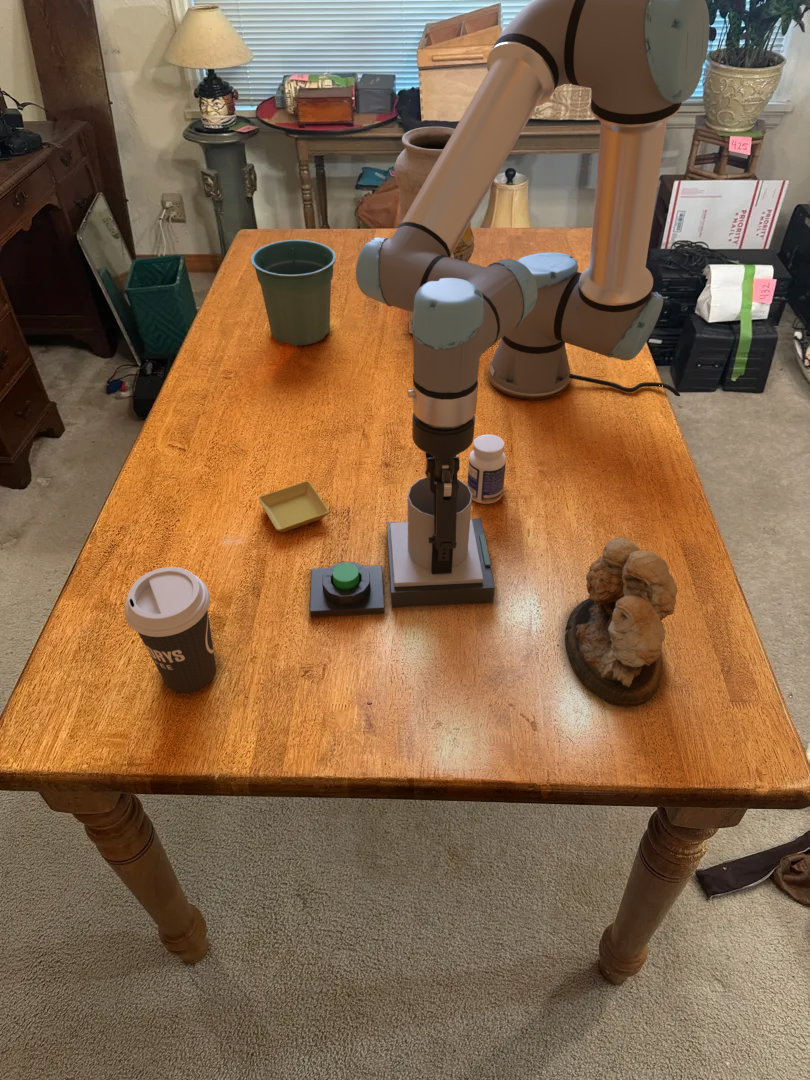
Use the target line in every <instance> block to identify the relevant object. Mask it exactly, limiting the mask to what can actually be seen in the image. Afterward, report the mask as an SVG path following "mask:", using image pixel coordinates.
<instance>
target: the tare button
mask: <svg viewBox="0 0 810 1080" xmlns="http://www.w3.org/2000/svg"><path fill="white" fill-rule="evenodd" d="M332 575H333V583H334V585H335V587H336V588H338V589H340V590H351V589H353V588H355V587H356V586H357V585H358V584H359V570H358V568H357V567H356V566H355V565H354V564H351V563H342V564H339V565H337V566H336V567H335V568H334V569H333V572H332Z"/></svg>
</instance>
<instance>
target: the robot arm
mask: <svg viewBox="0 0 810 1080" xmlns="http://www.w3.org/2000/svg"><path fill="white" fill-rule="evenodd" d="M709 41H710V13H709V8H708V4H707V2H706V0H530V1H529V2H528V3H526V5H525V6H524V7H523V8H522V9H521V10H520V11H519V12H518V13H517V14H516V15H515V16H514V17H513V18H512V19H511V21H509V23H508V24H507V26H505V27H504V29H503V30H502V32H500V35H499V36H498V38H497V39H496V40H495V43H494V45H493V46H492V47H491V49H490V52H489V53H488V55H487V59H486V71H487V72H486V74H485V76H484V78H483V80H482V82H481V83H480V85H479V87H477V90H476V92H475V94H474V95H473V97H472V99H471V101H470V102H469V104H468V106H467V108H466V109H465V111H464V113H463V115H462V116H461V118H460V119H459V121H458V123H457V125H456V127H455V128H454V129H455V130H454V132H453V134H452V135H451V137H450V139H449V141H448V142H447V144H446V146H445V148H444V149H443V151H442V153H441V155H440V156H439V158H438V160H437V161H436V163H435V165H434V167H433V168H432V170H431V172H430V174H429V175H428V177H427V179H426V181H425V182H424V184H423V186H422V188H421V189H420V191H419V193H418V195H417V196H416V198H415V200H414V201H413V203H412V205H411V207H410V208H409V210H408V212H407V214H406V215H405V217H404V219H403V221H402V222H401V221H400V224H399V225H398V227H397V229H396V230H395V232H394V234H393V235H392V237H391V238H390V237H385V236H384V237H380V236H376V237H372V238H371V239H370V241H368V242H366V243H365V244H364V245H363V247H362V248H361V249H360V252H359V254H358V256H357V260H356V264H355V265H356V267H355V280H356V283H357V286H358V288H359V290H360V292H361V293H362V294H363V295H364V296H366V297H368V298H370V299H372V300H374V301H377V302H379V303H381V304H384V305H386V307H394V308H396V309H400V310H404V311H407V312H408V311H410V312H413V319H412V324H411V326H412V333H413V334H412V356H413V357H412V362H413V363H412V364H413V365H412V367H413V368H412V369H413V373H412V388H410V389H408V390H407V397H408V398H410V399H412V411H413V412H412V415H411V416H412V420H411V421H412V422H411V424H412V425H411V427H412V428H411V429H412V430H411V436H412V441H413V443H414V444H415V446H416V447H417V448H418V449H419V450H421V451H422V452H424V453H425V462H426V465H425V467H426V468H425V470H424V472H425V473H424V474H425V476H426V477H429V487H430V490H431V492H432V493H434V535H432V537H428V539H429V543H432V565H431V571H432V574H444V573H452V559H453V549H455V548H456V545H457V543H456V518H457V494H458V488H459V484H458V482H457V479H458V472H459V471H460V457H459V456H458V455H459V454H461V453H463V452H465V451H467V450H468V449H469V448H470V447H471V445H473V443H474V439H475V437H474V436H475V424H476V423H475V422H476V416H475V415H476V414H477V413H476V412H477V401H478V391H479V380H478V379H479V370H480V369H479V368H480V359H481V356H482V355H483V354H484V353H486V352H487V351H488V350H489V349H490V348H491V347H492V346H494V345H495V344H496V343H497V342H499V343H498V345H497V347H496V350H495V352H494V354H493V356H492V358H491V361H490V364H489V367H488V381H489V383H490V384H491V386H492V387H493V388H494V389H496V390H497V391H498V392H500V393H502V394H503V395H505V396H509V397H511V398H514V399H519V400H526V401H539V400H546V399H551V398H553V397H557V396H558V395H560V394H561V393H563V392H564V391H565V390H567V388H568V386H569V383H570V379H572V380H577V381H583V382H588V383H591V384H592V383H593V384H598V385H603V386H607V387H611V388H614V389H617V390H619V391H622V392H624V393H633V392H636V391H638V390H639V389H640V388H644V387H656V388H663V389H666V390H668V391H670V392H671V393H672V394H673V395H674V396H675V397H681V394H680V392H679V391H678V390H677V389H676V388H675V387H674V386H672V385H670V384H667V383H665V382H656V381H653V382H652V381H651V382H650V381H647V382H646V381H645V382H639V383H637V384H636V385H635V386H632V387H626V386H623V385H620V384H618V383H615V382H611V381H608V380H603V379H598V378H593V377H589V376H583V375H577V374H572V373H571V370H570V365H569V358H568V353H567V348H566V344H569V345H571V346H574V347H578V348H581V349H583V350H585V351H589V352H592V353H595V354H598V355H601V356H605V357H607V358H610V359H611V358H612V359H617V360H621V361H627V362H628V361H631V360H633V359H635V358H636V357H637V356H638V355H639V354H640V353H641V351H642V349H643V348H644V346H645V345H646V343H647V342H648V340H649V339H650V336H651V334H652V332H653V330H654V328H655V327H656V324H657V322H658V319H659V317H660V314H661V312H662V309H663V305H664V297H663V295H662V294H660V293H658V291H655V292H654V291H653V286H654V277H653V275H652V273H651V271H650V270H649V269H648V268H647V259H648V255H649V253H648V252H649V245H650V240H651V232H652V226H653V220H654V212H655V205H656V199H657V191H658V184H659V177H660V172H661V164H662V158H663V150H664V145H665V137H666V131H667V123H668V121H670V120H671V118H673V117H674V116H676V115H677V114H678V112H679V111H680V110H681V107H682V103H684V102H686V101H688V100H689V99H690V98H691V97H692V96H693V94H694V93H695V91H696V89H697V88H698V85H699V84H700V81H701V79H702V75H703V67H704V64H705V63H706V61H707V55H708V49H709ZM563 85H573V86H576V87H577V86H578V87H583V88H587V89H590V91H591V92H590V97H591V98H590V111H591V114H592V115H593V117H595V118H596V119H597V120H598V122H600V128H599V130H600V131H599V139H598V140H599V141H598V154H597V155H598V156H597V168H596V179H595V193H594V204H593V205H594V206H593V217H592V232H591V243H590V256H589V266H587V267H586V268H585V269H584V270H582V272H579V271H578V270H579V265H578V261H577V259H576V258H574V257H573V256H572V255H571V254H567V253H564V252H555V251H554V252H553V251H546V252H537V253H532V254H527V255H525V256H522V257H520V258H519V259H516V260H515V259H512V258H504V259H500V260H498V261H494V262H492V263H490V264H488V265H487V266H482V265H479V264H477V263H472V262H469V261H468V262H465V261H461V260H458V259H454V258H451V255H452V253H453V252H454V250H455V248H456V246H457V245H458V243H459V241H460V239H461V238H462V236H463V234H464V232H465V231H466V229H467V227H468V225H469V224H470V222H471V223H472V220H473V218H474V217H475V215H476V213H477V211H478V209H479V207H481V204H482V203H483V200H484V199H485V198H486V196H487V193H488V192H489V190H490V188H491V186H492V185H493V183H494V182H495V179H496V178H497V176H498V175H499V173H500V171H501V169H502V167H503V165H504V164H505V162H506V160H507V158H508V157H509V155H510V153H511V151H512V150H513V148H514V146H515V145H516V143H517V141H518V139H519V137H520V136H521V134H522V132H523V131H524V129H525V127H526V125H527V123H528V122H529V120H530V118H531V117H532V115H533V113H534V111H535V110H536V108H537V107H540V106H542V105H544V104H546V103H547V102H548V101H549V100H550V99H551V97H552V96H553V93H554V92H555V90H556V89H557V88H558V87H560V86H563ZM659 385H660V386H659ZM662 385H663V387H662ZM451 479H452V481H451ZM434 481H435V482H437V484H434Z"/></svg>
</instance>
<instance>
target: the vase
mask: <svg viewBox="0 0 810 1080" xmlns="http://www.w3.org/2000/svg"><path fill="white" fill-rule="evenodd" d="M454 130H455V128H452V127H447V126H423V127H418V128H413V129H411V130H408V131H407V132H405V133H404V134H403V135H402V137H401V143H402V145H403V147H404V149H403V150H402V151H401V152H400V154H399V155H398V156H397V158H396V160H395V163H394V177H395V181H396V184H397V186H398V190H399V191H398V192H399V193H398V194H399V208H400V209H399V210H400V223H401V222H402V221H403V219H404V217H405V215H406V214H407V212H408V210H409V208H410V207H411V205H412V203H413V201H414V200H415V198H416V196H417V195H418V193H419V191H420V189H421V188H422V186H423V184H424V182H425V181H426V179H427V177H428V175H429V174H430V172H431V170H432V168H433V167H434V165H435V163H436V161H437V160H438V158H439V156H440V155H441V153H442V151H443V149H444V148H445V146H446V144H447V142H448V141H449V139H450V137H451V135H452V134H453V132H454ZM474 248H475V236H474V233H473V230H472V221H471V222H470V224H469V225H468V227H467V229H466V231H465V232H464V234H463V236H462V238H461V239H460V241H459V243H458V245H457V246H456V248H455V250H454V259H458V260H461V261H465V262H469V261H470V259H471V257H472V255H473V253H474Z"/></svg>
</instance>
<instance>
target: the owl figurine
mask: <svg viewBox="0 0 810 1080" xmlns="http://www.w3.org/2000/svg"><path fill="white" fill-rule="evenodd" d="M588 568H589V570H588V571H587V573H586V575H585V580H586V590H587V593H588V594H589V595H588V598H586V599H585V600H583V601H581V602H580V603H578V605H576V607H574V609H573V610H572V611H571V612H570V615H569V617H568V619H567V621H566V625H565V631H564V632H566V633H565V634H564V644H565V651H566V654H567V657H568V660H569V663H570V665H571V667H572V669H573V672H574V673H575V674H576V676H577V677H578V678H579V680H580V681H581V683H582V684H583V686H585V687H586V688H587V689H588V690H589V691H590V692H591V693H593V695H596V696H598V697H600V698H602V699H603V700H604V701H605V702H607V703H608V704H611V705H614V706H621V707H634V706H635V707H637V706H640V705H643V704H646V703H647V702H649V700H651V699H652V698H653V697H654V696H655V694H656V693H657V691H658V689H659V688H660V685H661V681H662V676H663V668H664V667H663V658H662V657H663V656H662V652H661V651H662V649H663V642H664V641H665V639H666V629H665V627H664V623H663V622H662V621H663V619H665V618H667V617H668V616H671V615H673V614H674V613H675V606H676V604H677V599H676V597H677V595H678V592H679V591H678V586H677V584H676V581H675V578H674V577H673V575H672V574H671V573H670V568H669V566H668V564H667V561H666V560H665V559H664V558H662V557H661V556H659V555H658V554H657V553H656V552H654V551H650V550H649V551H648V550H643V549H640V547H639V545H637V544H636V543H635V542H633V541H631V540H630V539H628V538H626V537H622V536H618V537H614V538H611V539H609V540H608V542H607V543H606V544H605V545H604V547H603V549H602V555H600V556H599V557H598V558H597V559H596V560H594V561H593V562H592V563H591V564H590V566H589V567H588Z"/></svg>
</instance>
